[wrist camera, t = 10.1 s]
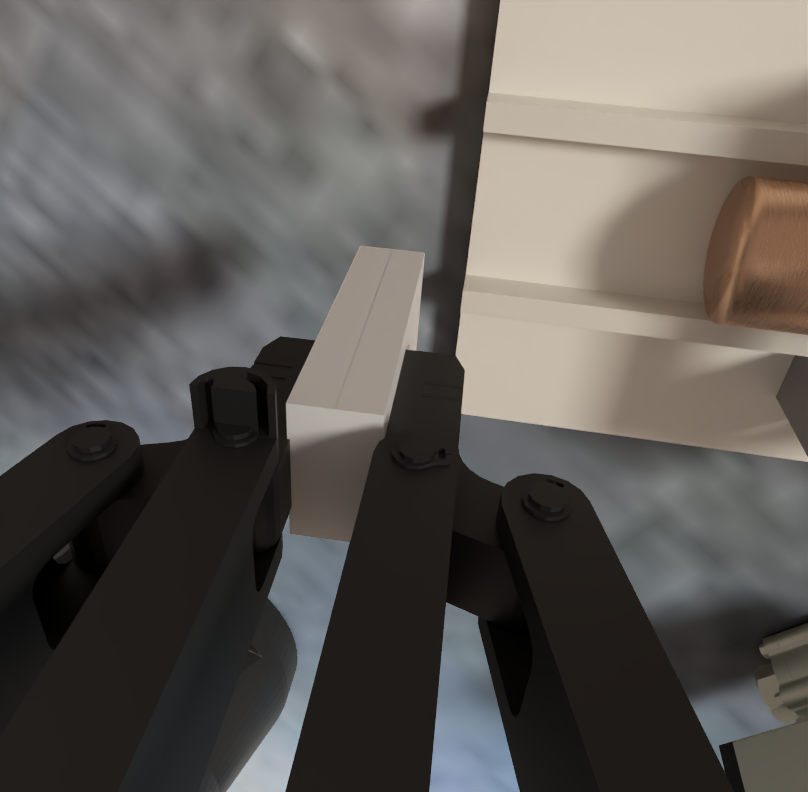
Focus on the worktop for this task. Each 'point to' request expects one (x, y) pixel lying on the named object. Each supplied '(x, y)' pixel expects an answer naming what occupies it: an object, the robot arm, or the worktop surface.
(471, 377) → the board
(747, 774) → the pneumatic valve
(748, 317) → the tube
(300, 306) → the worktop surface
